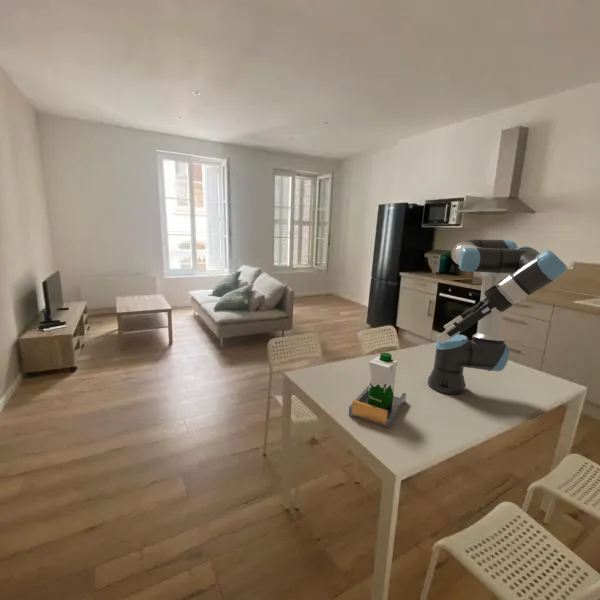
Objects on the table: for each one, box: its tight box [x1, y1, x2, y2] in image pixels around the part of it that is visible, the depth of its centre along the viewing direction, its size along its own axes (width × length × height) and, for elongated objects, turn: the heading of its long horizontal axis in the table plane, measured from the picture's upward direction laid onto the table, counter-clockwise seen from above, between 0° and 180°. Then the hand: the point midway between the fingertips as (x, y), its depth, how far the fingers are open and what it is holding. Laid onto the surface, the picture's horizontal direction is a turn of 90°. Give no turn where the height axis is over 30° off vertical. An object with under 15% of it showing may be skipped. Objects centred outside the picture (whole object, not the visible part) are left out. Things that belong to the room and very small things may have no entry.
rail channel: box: [348, 385, 407, 430], centre depth 122 cm, size 22×15×6 cm
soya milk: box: [367, 352, 398, 410], centre depth 120 cm, size 9×9×20 cm
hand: (442, 334), depth 104 cm, fingers open, 13 cm apart
